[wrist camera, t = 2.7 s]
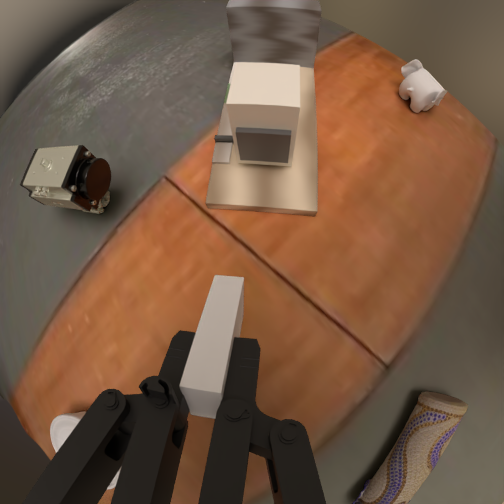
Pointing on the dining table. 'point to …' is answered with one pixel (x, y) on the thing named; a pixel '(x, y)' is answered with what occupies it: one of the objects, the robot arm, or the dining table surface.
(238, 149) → the block
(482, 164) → the dining table surface
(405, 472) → the decorative bottle
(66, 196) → the pneumatic valve
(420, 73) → the elephant figurine
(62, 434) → the ramekin
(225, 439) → the robot arm
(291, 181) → the board
